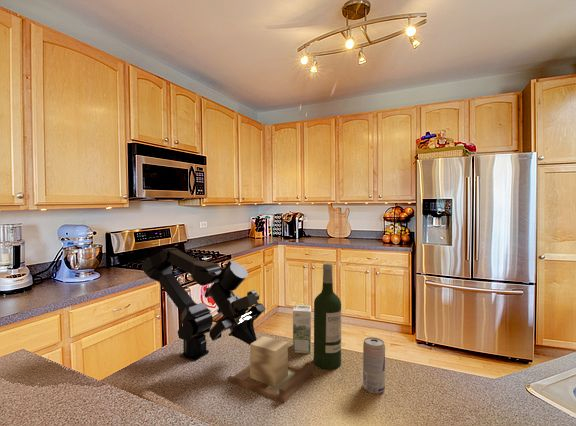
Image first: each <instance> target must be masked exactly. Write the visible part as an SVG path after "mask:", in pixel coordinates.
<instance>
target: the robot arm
mask: <svg viewBox="0 0 576 426" xmlns="http://www.w3.org/2000/svg"><path fill="white" fill-rule="evenodd" d="M173 265H174V266H176V267H177V268H179V269H181V270H182V271H184V272H187V273H189V274H190V275H191V278H192V280H193V281H194V282H195V283H197V284H198V285H199V286H200V287H201V286H204V287H205V286H207V285H210V286H209V287H206V288H205V292H204V298H206V299H207V298H209V297H211V298H212V300H213V302H214V303H215V305H216V307H217V310H216V312H217V314H219V315H220V314H222V316H223V317H224V318H222V319H220V320H217V321H216V323H215V324H214V325H213V320H214V317H213V314H212V313H211V312H212V311H211V310H210V309H209V307H208V306H207V305H206V303H204V302H200V303H196V302H195V301H194V300H193V298H192V297H191V296H190V294H189V293H188V292H187V290H186V289H185V288H184V287H183V285H182V284H181V282H180V281H179V280H178V279H177V277H175V275H174V274H173ZM141 266H142V267H141V268H142V271H143V272H144V274H145V275H146V276H147V277H148V278H149V279H151V280H154V281H156V282H158V283H159V284H160V286H161V287H162V289H163V290H164V291H165V293H166V294H167V295H168V297H169V298H170V299H171V301H172V303H174V305H175V306H176V308H177V309H178V310H179V312H180V314H181V324H182V325H181V326H180V327H179V329H178V330H177V336H178V337H177V338H178V339H180V340H183V341H182V342H183V344H182V345H183V352H182V353H181V354H179V357H180V358H184V359H187V360H190V361H197V360H199V359H201V358H202V357H203V356H205V355H207V354H208V353H209V352H210V350H209V349H207V340H206V334H207V333H209V337H210V339H211V340H212V342H215V341H216V340H219V339H220V338H221V337H222V335H223V334H222V333H223V332H225V331H227V330H229V331H230V332H229V334H228V336H229V337H234V338H236V339H238V340H240V341H242V342H244V343H245V344H247V345H249V346H250V344H251V343H253V342H254V341H256V340H258V339H257V335H256V332H255V328H254V322H255V321H256V320H257V319H258V318H260V316H261V315H262V314H263V313H264V312H265V311H266V307H265V305H264V304H263V303H260V302H258V301H259V300H260V295H259V294H258V292H257V291H256V290H255V289H253V290H250V291H247V292H246V295H245V296H243V297H241V295H239V294H238V295H235V293H234V291H236V290H237V289H238V287H239V286H240V285H242V284H243V282H244V281H245V280H246V278H247V277H248V274H249V273H248V270H247V268H246V267H245V266H243V265H242V264H240V263H237V262H236V261H235V260H234V259H233V260H229V261H227V263H226V265H225V266H224V267H221V266H220V264H218V263H215V262H210V261H203V260H199V259H197V258H195V257H193V256H191V255H189V254H188V253H185V252H183V251H181V250H180V249H178V248H176V247H169V248H163V250H161V251H159V252H157V253H155V254H153V255H152V256H149V257H146V258H145V259H144V261H143V262H142V265H141Z"/></svg>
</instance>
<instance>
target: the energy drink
mask: <svg viewBox="0 0 576 426" xmlns="http://www.w3.org/2000/svg"><path fill="white" fill-rule="evenodd" d="M362 345H363V347H362V349H363V351H362V354H363V355H362V364H363V365H362V366H363V367H362V376H363V377H362V386H363V388H364V390H365V391H367V392H368V393H371V394H382V393H383V392H384V391H385V389H386V377H385V376H386V345H385V341H384V340H383V339H381V338H378V337H373V336H370V337H369V336H368V337H366V338H364V339H363V344H362Z"/></svg>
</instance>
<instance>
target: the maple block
mask: <svg viewBox="0 0 576 426" xmlns="http://www.w3.org/2000/svg"><path fill="white" fill-rule="evenodd" d="M249 346H250V347H249V349H250V350H249V353H250V355H249V358H250V360H249V362H250V363H249V365H250V378H252V379H251V380H253V379H254V380H253V381H255V380H257V381H256V382H258V381H260V382H263V383H265V384H268V385H271V386H274V387H276V386H277V385H279V384H280V383H281V382H282V381H283V380H284V379H285V378H286V377H287V376H288V364H289V342H288V341H284V340H280V339H277V338H272V337H270V336H265V335H263V336H260V337H259V338H258V339H257V340H256V341H254V342H253V343H251V344H250V345H249ZM250 378H249V379H250Z"/></svg>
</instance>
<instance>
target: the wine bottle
mask: <svg viewBox="0 0 576 426" xmlns="http://www.w3.org/2000/svg"><path fill="white" fill-rule="evenodd" d="M333 284H334V281H333V264H332V263H331V262H326V263H325V262H324V263H323V264H322V290H321V292H320V293H319V294H317V296H316V297H315V298H314V300H313V364H314V366H316V367H317V368H319V369H322V370H325V371H331V370H336V369H339V368H340V367H341V366H342V301H341V299H340V298H339V296H338V295H337V294H336V293H335V292H334V287H333Z"/></svg>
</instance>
